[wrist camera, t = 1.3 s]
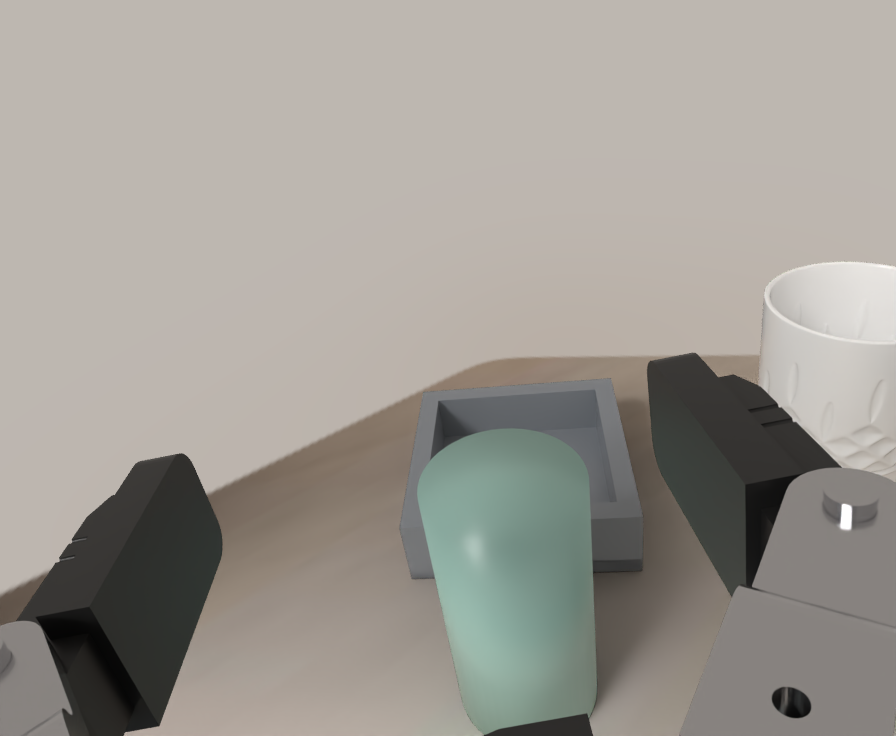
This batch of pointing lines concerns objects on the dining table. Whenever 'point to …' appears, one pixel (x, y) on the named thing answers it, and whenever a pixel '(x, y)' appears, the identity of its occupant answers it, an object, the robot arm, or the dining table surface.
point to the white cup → (835, 358)
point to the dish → (551, 412)
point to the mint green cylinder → (514, 574)
